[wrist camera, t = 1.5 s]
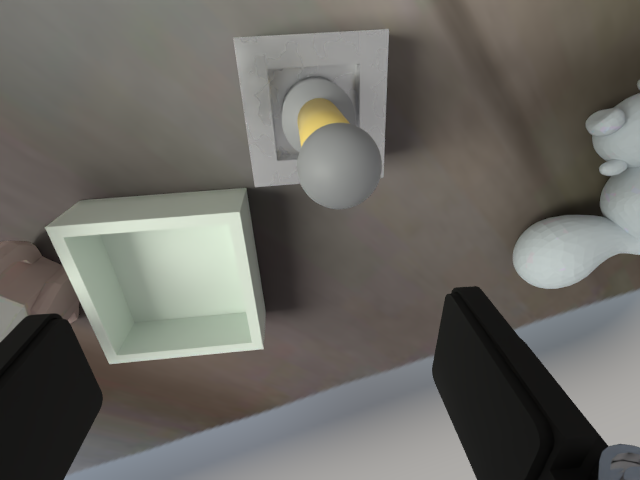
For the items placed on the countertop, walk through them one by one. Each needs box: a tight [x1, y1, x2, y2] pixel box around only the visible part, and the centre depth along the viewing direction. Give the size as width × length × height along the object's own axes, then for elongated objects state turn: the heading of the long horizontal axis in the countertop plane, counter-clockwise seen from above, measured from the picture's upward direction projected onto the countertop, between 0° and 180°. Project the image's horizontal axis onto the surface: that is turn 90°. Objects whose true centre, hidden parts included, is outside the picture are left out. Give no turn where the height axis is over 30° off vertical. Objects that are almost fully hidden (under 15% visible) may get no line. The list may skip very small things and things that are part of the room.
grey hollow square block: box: [233, 29, 389, 187], centre depth 28 cm, size 10×10×6 cm
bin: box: [45, 188, 266, 364], centre depth 34 cm, size 15×15×6 cm
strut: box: [282, 76, 382, 209], centre depth 20 cm, size 5×5×16 cm
